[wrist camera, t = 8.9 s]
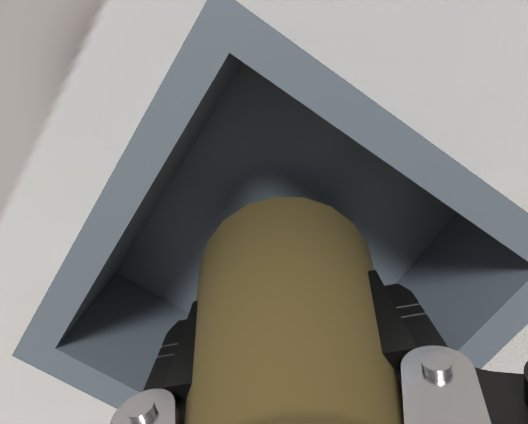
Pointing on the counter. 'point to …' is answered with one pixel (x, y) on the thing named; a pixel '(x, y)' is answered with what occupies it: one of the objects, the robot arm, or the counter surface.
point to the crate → (263, 187)
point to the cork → (289, 322)
